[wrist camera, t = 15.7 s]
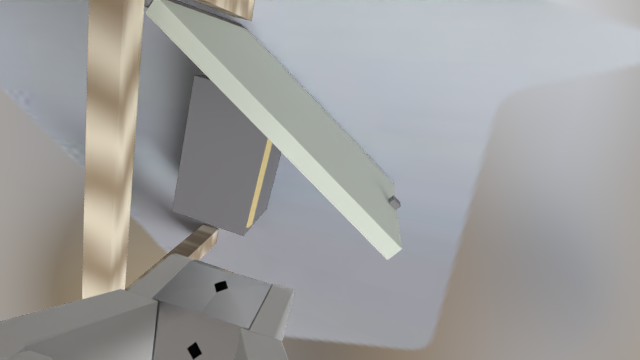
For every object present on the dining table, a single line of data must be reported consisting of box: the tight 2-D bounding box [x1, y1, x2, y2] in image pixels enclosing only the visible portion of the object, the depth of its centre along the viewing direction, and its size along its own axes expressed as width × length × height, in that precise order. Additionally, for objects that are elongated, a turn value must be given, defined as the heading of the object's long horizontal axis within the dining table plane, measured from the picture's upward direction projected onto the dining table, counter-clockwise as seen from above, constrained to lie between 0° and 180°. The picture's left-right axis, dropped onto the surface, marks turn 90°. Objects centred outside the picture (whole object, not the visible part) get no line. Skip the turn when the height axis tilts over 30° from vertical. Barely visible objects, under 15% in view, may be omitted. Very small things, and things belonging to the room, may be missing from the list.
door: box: [144, 0, 402, 260], centre depth 35 cm, size 27×3×18 cm, turn 45°
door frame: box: [82, 0, 255, 299], centre depth 36 cm, size 33×2×22 cm, turn 167°
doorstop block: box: [172, 75, 281, 236], centre depth 43 cm, size 16×9×9 cm, turn 164°
